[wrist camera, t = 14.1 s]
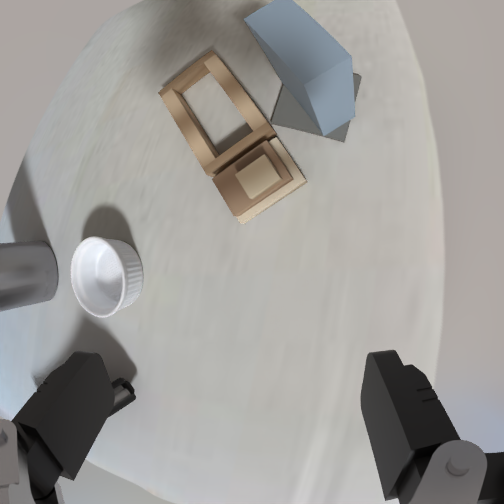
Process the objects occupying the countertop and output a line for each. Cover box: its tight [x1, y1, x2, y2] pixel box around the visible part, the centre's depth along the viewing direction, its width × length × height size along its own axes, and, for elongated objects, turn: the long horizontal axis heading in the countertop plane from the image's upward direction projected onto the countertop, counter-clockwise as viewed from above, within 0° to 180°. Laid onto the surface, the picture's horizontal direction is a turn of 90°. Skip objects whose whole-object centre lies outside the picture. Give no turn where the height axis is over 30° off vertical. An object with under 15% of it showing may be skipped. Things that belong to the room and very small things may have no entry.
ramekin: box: [71, 236, 143, 317], centre depth 33 cm, size 9×9×4 cm
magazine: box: [107, 378, 136, 418], centre depth 36 cm, size 17×3×30 cm
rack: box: [158, 50, 307, 224], centre depth 28 cm, size 17×7×4 cm, turn 32°
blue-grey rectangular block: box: [243, 0, 355, 136], centre depth 21 cm, size 7×4×11 cm, turn 32°
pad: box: [271, 74, 361, 142], centre depth 27 cm, size 7×7×1 cm
